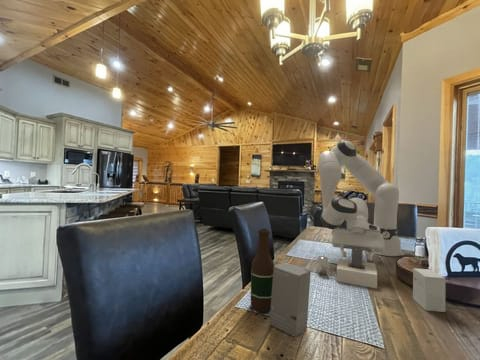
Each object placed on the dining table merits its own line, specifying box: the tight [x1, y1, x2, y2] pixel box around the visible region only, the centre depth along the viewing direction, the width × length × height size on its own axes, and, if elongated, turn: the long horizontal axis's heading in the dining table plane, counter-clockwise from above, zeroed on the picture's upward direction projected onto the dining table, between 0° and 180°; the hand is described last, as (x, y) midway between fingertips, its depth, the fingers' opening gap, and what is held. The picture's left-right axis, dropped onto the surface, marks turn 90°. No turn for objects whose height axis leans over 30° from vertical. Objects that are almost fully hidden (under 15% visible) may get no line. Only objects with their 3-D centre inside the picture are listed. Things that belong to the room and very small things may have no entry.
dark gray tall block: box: [351, 248, 364, 269], centre depth 101 cm, size 4×4×12 cm
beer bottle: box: [250, 228, 276, 314], centre depth 76 cm, size 8×8×24 cm
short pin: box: [317, 255, 329, 276], centre depth 105 cm, size 4×4×7 cm
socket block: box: [336, 258, 378, 289], centre depth 101 cm, size 14×14×5 cm
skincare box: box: [269, 262, 312, 338], centre depth 67 cm, size 8×7×16 cm
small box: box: [412, 268, 446, 313], centre depth 79 cm, size 8×6×10 cm
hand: (356, 258), depth 100 cm, fingers open, 8 cm apart
